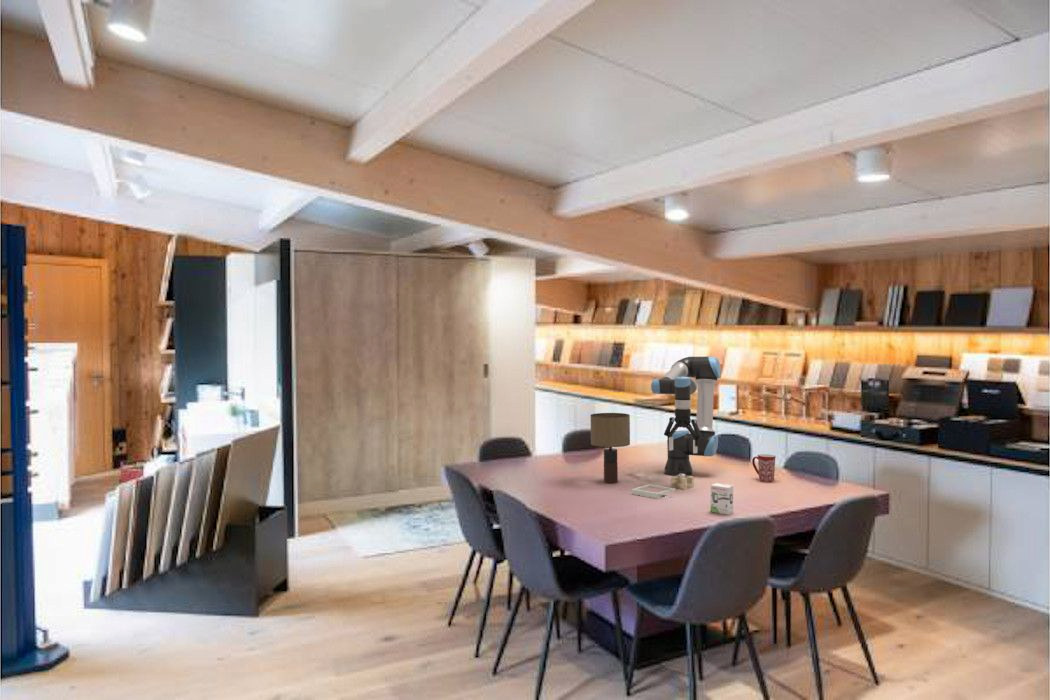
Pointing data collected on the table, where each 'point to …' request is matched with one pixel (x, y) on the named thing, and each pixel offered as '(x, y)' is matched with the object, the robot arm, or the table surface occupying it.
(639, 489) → the tray
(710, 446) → the robot arm
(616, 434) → the lamp
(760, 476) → the mug
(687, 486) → the tan wooden frame
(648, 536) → the table surface
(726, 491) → the ink box
